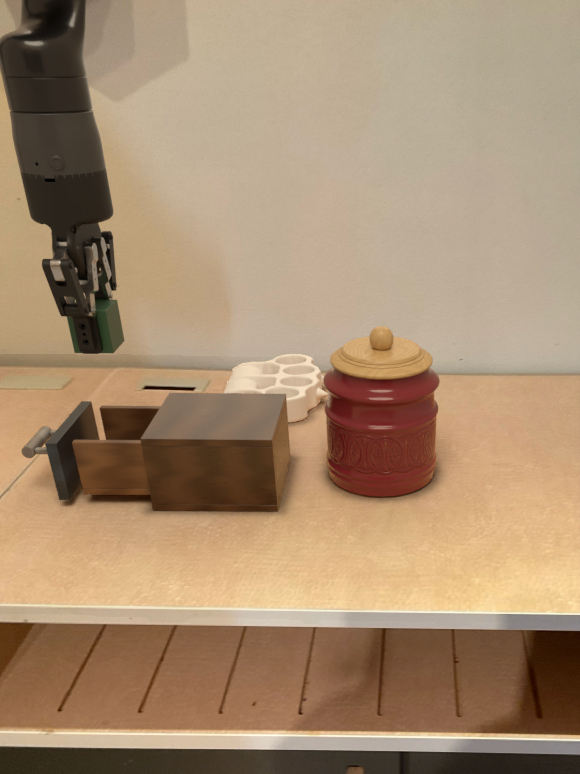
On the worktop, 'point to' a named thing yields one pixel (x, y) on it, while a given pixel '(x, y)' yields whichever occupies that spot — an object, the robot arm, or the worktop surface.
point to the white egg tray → (281, 382)
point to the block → (104, 326)
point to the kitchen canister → (381, 415)
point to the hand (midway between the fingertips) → (98, 344)
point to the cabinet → (217, 452)
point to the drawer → (96, 451)
